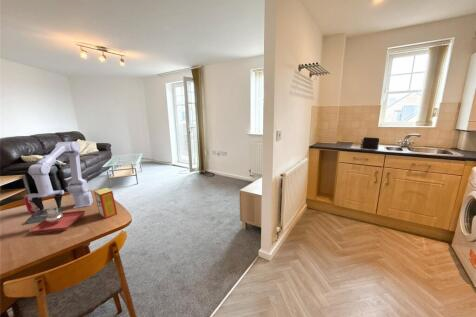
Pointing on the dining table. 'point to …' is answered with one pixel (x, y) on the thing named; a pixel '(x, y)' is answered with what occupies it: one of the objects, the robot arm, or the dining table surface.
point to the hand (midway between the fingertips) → (50, 208)
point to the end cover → (53, 214)
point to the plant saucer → (59, 223)
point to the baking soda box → (105, 202)
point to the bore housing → (37, 216)
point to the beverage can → (30, 204)
